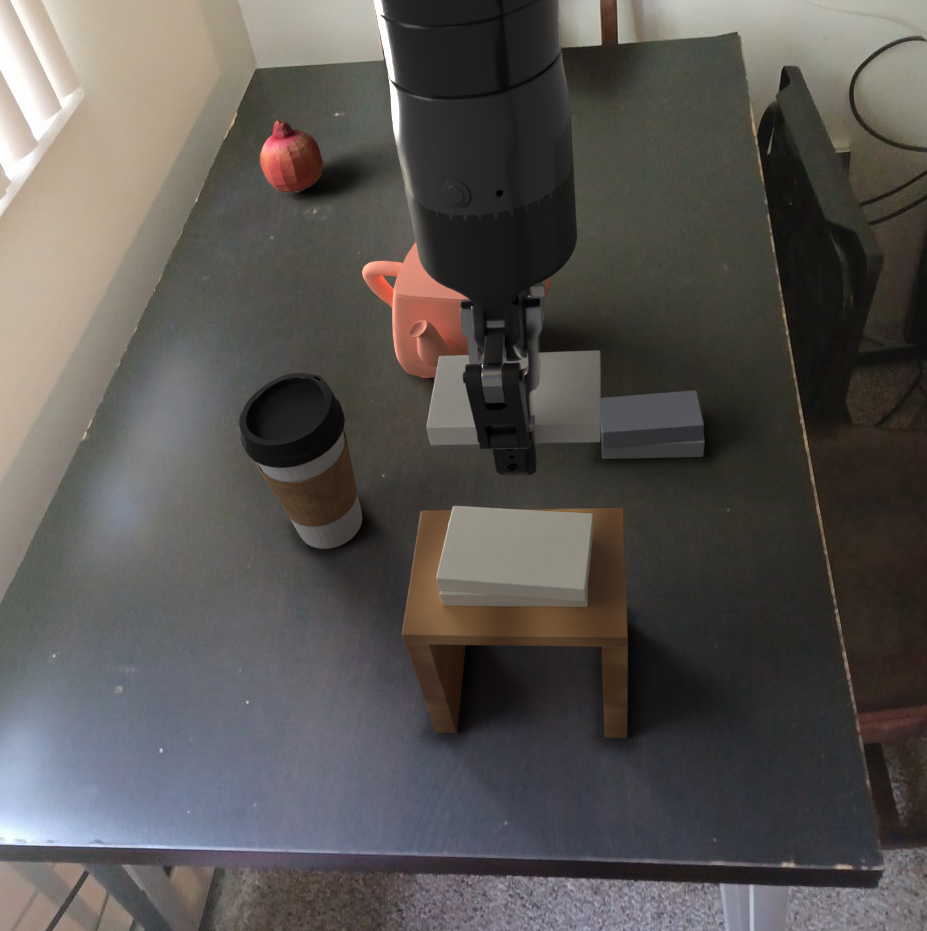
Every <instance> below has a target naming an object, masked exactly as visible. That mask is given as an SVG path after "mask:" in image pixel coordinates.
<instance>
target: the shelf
mask: <svg viewBox="0 0 927 931" xmlns="http://www.w3.org/2000/svg"><path fill="white" fill-rule="evenodd" d="M518 510H536V511H553V512H571V513H588V514H593V519H594V530H593V539H592V549H591V558H590V568H589V577H588V606H587V607H522V606H443V605H442V601H441V598H440V590H439V587H438V583H437V579H436V576H437V572H438V568H439V564H440V559H441V555H442V551H443V547H444V542H445V538H446V534H447V530H448V523H449V521H450V517H451V513H452V509H450V510H448V509H446V510H445V509H444V510H442V509H440V510H439V509H438V510H437V509H436V510H421V511H420V512H419V513H420V514H419V520H418V527H417V533H416V540H415V546H414V552H413V558H412V559H413V560H412V565H411V573H410V578H409V585H408V592H407V597H406V598H407V599H406V604H405V605H406V606H405V612H404V617H403V624H402V631H401V637H402V639H403V642H404V645H405V647H406V651H407V653H408V656H409V660H410V663H411V665H412V668H413V671H414V674H415V676H416V679H417V682H418V685H419V688H420V690H421V694H422V696H423V699H424V703H425V705H426V708H427V711H428V714H429V717H430V720H431V722H432V725H433V728H434V731H435V733H437V734H458V725H459V716H460V706H461V697H462V696H461V695H462V686H463V676H464V666H465V656H466V647H467V646H513V647H515V646H520V647H521V646H524V647H526V646H528V647H530V646H531V647H533V646H534V647H597V648H598V647H599V648H600V647H601V668H602V696H603V698H602V699H603V724H604V725H603V726H604V727H603V728H604V738H606V739H628V710H629V709H628V706H629V704H628V702H629V701H628V696H629V694H628V693H629V692H628V690H629V689H628V688H629V687H628V686H629V681H628V680H629V660H628V659H629V653H628V652H629V627H628V626H629V625H628V601H627V600H628V598H627V594H628V593H627V568H626V567H627V566H626V539H625V538H626V537H625V536H626V535H625V509H624V508H622V507H619V508H618V507H613V508H611V507H609V508H608V507H606V508H604V507H603V508H533V509H532V508H531V509H530V508H529V509H528V508H527V509H522V508H521V509H520V508H519V509H518Z"/></svg>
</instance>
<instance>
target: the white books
mask: <svg viewBox="0 0 927 931" xmlns="http://www.w3.org/2000/svg"><path fill="white" fill-rule="evenodd" d="M451 510H452V513H451V517H450V521H449V523H448V530H447V534H446V538H445V542H444V547H443V551H442V555H441V559H440V564H439V568H438V572H437V576H436V579H437V583H438V587H439V590H440V598H441V601H442V605H443V606H522V607H587V606H588V577H589V568H590V558H591V549H592V539H593V530H594V519H593V514H588V513H571V512H553V511H536V510H518V509H517V508H497V507H483V506H482V507H481V506H466V505H465V506H462V505H453V506H452V508H451Z"/></svg>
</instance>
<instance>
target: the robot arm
mask: <svg viewBox="0 0 927 931" xmlns="http://www.w3.org/2000/svg"><path fill="white" fill-rule="evenodd" d="M372 2H373V4H374V10H375V15H376V21H377V25H378V30H379V36H380V41H381V46H382V50H383V56H384V62H385V65H386V70H387V77H388V82H389V92H390V108H391V110H390V111H391V123H392V131H393V137H394V141H395V146H396V151H397V155H398V161H399V165H400V170H401V176H402V180H403V187H404V191H405V196H406V200H407V206H408V211H409V215H410V220H411V225H412V230H413V235H414V240H415V242H416V245H417V250H418V255H419V259H420V262H421V264H422V266H423V268H424V270H425V271H426V272H427V273H428V275H429V276H430V277H431V278H433V279H434V280H435V281H436V282H438V283H439V284H441V285H443V286H445V287H447V288H449V289H452V290H454V291H456V292H458V293H460V294H462V295H464V296H465V297H467V298H468V299H463V300H461V303H460V315H461V327H462V333H463V335H464V336H465V337H466V338H467V340H468V351H469V364H466V366H465V372H463V383H465V386H466V390H467V394H468V399H469V403H470V407H471V411H472V415H473V419H474V424H475V428H476V432H477V441H478V442H479V444H478V445H479V448H480V450H492V454H493V461H494V466H495V471H496V473H497V474H499V475H501V476H506V477H507V476H508V477H509V476H512V477H513V476H532V475H534V474H536V472H537V465H538V464H537V463H538V457H537V449H536V443H535V439H534V430H533V424H534V425H535V424H536V416H535V415H533V401H532V391H533V390H535V389H536V388H537V387H538V385H539V381H540V377H541V365H540V353H541V351H540V350H541V348H540V347H541V345H540V344H541V343H540V336H541V332H543V325H544V321H545V319H546V318H545V316H546V314H545V313H546V307H545V306H546V297H545V280H546V279H548V278H552V277H553V276H554V275H555V274H557V273H558V272H559V271H560V270H561V269H562V268H563V267H564V266H565V265H566V264H567V263H568V262H569V260H570V259H571V257H572V255H573V253H574V251H575V249H576V246H577V241H578V226H577V225H578V224H577V223H578V222H577V206H576V189H575V188H576V187H575V164H574V163H575V162H574V149H573V145H574V144H573V125H572V109H571V98H570V97H571V96H570V92H569V85H568V81H567V76H566V70H565V65H564V60H563V50H562V37H561V36H562V35H561V34H562V33H561V17H560V0H372ZM482 352H483V354H484V355H483V354H482ZM527 353H528V366H527V367H526V368H524V369H521V365H520V362H518V363H507V362H512V361H519V360H521V359H523V358H527Z"/></svg>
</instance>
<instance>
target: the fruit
mask: <svg viewBox="0 0 927 931" xmlns="http://www.w3.org/2000/svg"><path fill="white" fill-rule="evenodd" d="M271 133H272V135H270V136H269V137H268V138H267V139H266V140H265V142H264V144H263V146H262V148H261V150H260V154H259V164H260V169H261V170H262V172H263V174H264V176H265V178H266V181H267V182H268V183H269V184H270V185H271V186H272V187H273V188H274V189H276V190H277V191H279V192H281V193H284V192H295V191H300V190H302V189H304V188H307V187H308V188H310V187H311V186H310V185H312V184H313V185H315V184H316V183H317V182H318V180H319V179H320V178H321V176H322V172H323V165H324V160H323V157H322V152H321V150H320V147H319V144H318V142H317V141H316V140H315V139H314V137H313V136H312V135H310V134H309V133H308V132H305V131H303V130H300V129H297V128H294V129H293V128H292V126H291V125H290V124H289V123H288V122H287V121H286V120H284V119H276V120H275V122H274V124H273V128H272V132H271ZM315 182H316V183H315ZM314 183H315V184H314ZM313 185H312V186H313ZM309 186H310V187H309ZM308 188H307V189H308ZM303 191H304V190H302V191H300V192H296V193H295V194H298V193H301V192H303Z"/></svg>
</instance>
